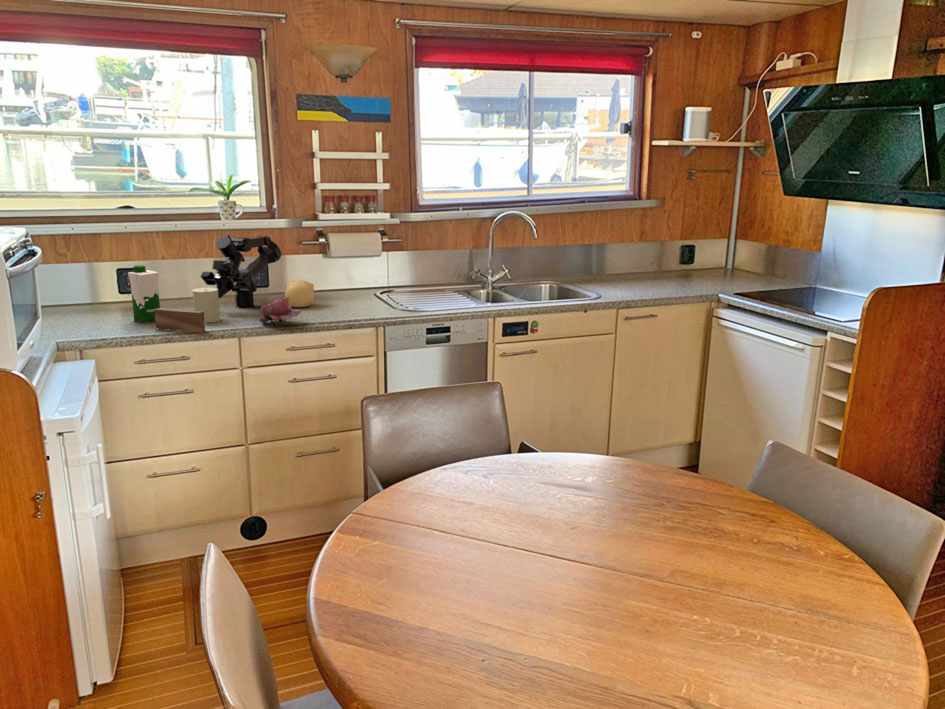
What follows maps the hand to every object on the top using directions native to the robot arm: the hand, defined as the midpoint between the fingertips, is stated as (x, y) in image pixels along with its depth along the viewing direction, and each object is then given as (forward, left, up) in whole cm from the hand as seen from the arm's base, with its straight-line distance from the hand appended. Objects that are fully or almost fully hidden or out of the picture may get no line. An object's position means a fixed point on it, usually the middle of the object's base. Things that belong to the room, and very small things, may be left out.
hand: (218, 297), depth 292 cm
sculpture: (-33, -5, -7) cm, 34 cm away
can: (+6, +6, -7) cm, 11 cm away
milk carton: (+25, -3, -7) cm, 26 cm away
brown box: (+17, +18, -7) cm, 26 cm away
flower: (-17, +24, -7) cm, 30 cm away
